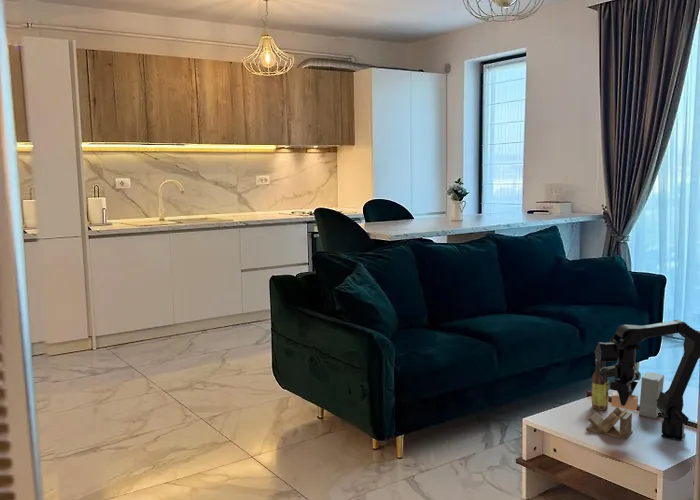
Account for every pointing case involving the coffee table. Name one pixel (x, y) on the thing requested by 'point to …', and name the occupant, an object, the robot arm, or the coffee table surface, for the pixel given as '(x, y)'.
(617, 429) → the cradle
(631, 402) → the peg
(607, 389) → the sauce bottle
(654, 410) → the skincare box
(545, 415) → the coffee table surface
